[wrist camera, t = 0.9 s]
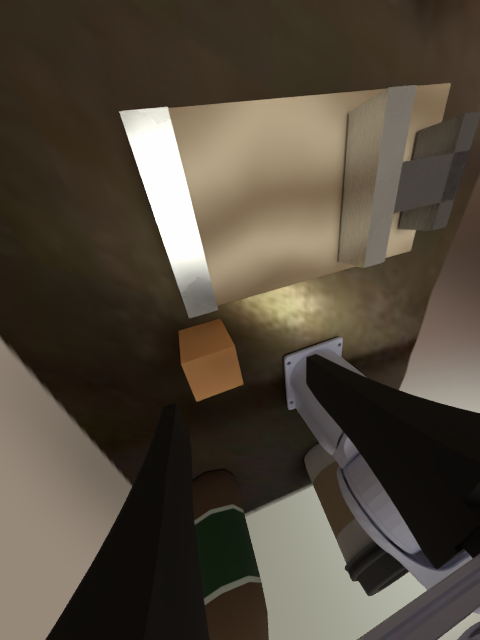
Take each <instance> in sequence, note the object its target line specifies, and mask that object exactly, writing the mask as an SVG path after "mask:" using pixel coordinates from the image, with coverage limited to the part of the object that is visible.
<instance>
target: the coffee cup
mask: <svg viewBox="0 0 480 640" xmlns="http://www.w3.org/2000/svg"><path fill="white" fill-rule="evenodd" d="M304 462H305V465H306V469H307V472H308V474H309V476H310V479H311V481H312V483H313V486H314V488H315V491H316V493H317V495H318V498H319V500H320V502H321V505H322V507H323V509H324V512H325V514H326V516H327V519H328V521H329V523H330V526H331V528H332V531H333V533H334V535H335V538H336V540H337V542H338V545H339V547H340V549H341V552H342V554H343V556H344V559H345V561H346V564H347V565H346V566H345V570H346V571H348V573H349V575H350V578H351V579H352V581H359V582H360V584H361V586H362V587H363V589H364V590H365V592H366V593H367V595H368V596H372V595H374V594H376V593H378V592H379V591H381V590H383V589H384V588H386V587H387V586H389V585H390V584H392V583H393V582H395V581H396V580H398V579H399V578H400V577H402V576H404V575H405V574H406V573H408V572H409V571H408V570H407V569H406V568H405V567H404V566H403V565H402V564H401V563H400V562H399V561H398V560H397V559H396V558H394V557H393V556H392V555H391V554H389V553H388V552H386V551H385V550H384V549H382V548H381V547H380V546H379V545H378V544H377V543H376V542H375V541H374V540H373V539H372V538H371V537H370V536H369V535H368V534H367V533H366V531H365V530H364V529H363V528H362V526H361V525H360V524H359V522H358V521H357V520H356V518H355V517H354V515H353V514H352V512H351V511H350V509H349V507H348V505H347V504H346V502H345V500H344V498H343V495H342V493H341V490H340V487H339V482H338V479H337V468H338V466H339V464H338V463H337V461H336V460H335V458H334V457H333V456H332V455H331V454H329V453H328V452H327V451H326V450H325V449H324V448H323V447H322V446H321V445H320V443H318V444H317V445H315V446H314V447H313V448H311V449H310V450H309V451H308V453H307V454H306V456H305V458H304Z"/></svg>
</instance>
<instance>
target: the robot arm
mask: <svg viewBox="0 0 480 640" xmlns="http://www.w3.org/2000/svg"><path fill="white" fill-rule="evenodd" d="M342 344H343V339H342V338H341V337H337V338H334V339H331V340H328V341H325V342H323V343H320V344H317V345H314V346H311V347H309V348H306V349H303V350H300V351H297V352H295V353H292V354H289V355H287V356H285V357H284V371H285V384H286V396H287V407H288V409H289V410H292V409H295V408H296V409H297V411H298V412H299V413H300V415H301V416H302V418H303V419H304V421H305V422H306V424H307V425H308V427H309V428H310V430H311V431H312V433H313V434H314V436H315V437H316V439H317V440H318V442H319V443H320V445H321V446H322V447H323V448H324V449H325V450H326V451H327V452H328V453H329V454H331V455H332V456H333V457H334V458H335V460H336V461H337V463H338V464H339V466H338V468H337V479H338V482H339V487H340V490H341V493H342V495H343V498H344V500H345V502H346V504H347V505H348V507H349V509H350V511H351V512H352V514H353V515H354V517H355V518H356V520H357V521H358V522H359V524H360V525H361V526H362V528H363V529H364V530H365V531H366V533H367V534H368V535H369V536H370V537H371V538H372V539H373V540H374V541H375V542H376V543H377V544H378V545H379V546H380V547H381V548H382V549H384V550H385V551H386V552H388V553H389V554H391V555H392V556H393V557H394V558H396V559H397V560H398V561H399V562H400V563H401V564H402V565H403V566H404V567H405V568H406V569H407V570H408V571H409V572H410V573H411V574H412V575H413V576H414V577H415V578H416V579H417V580H418V581H419V582H420V583H421V584H422V585H423V586H425V588H426V589H427V591H426V592H424V593H423V594H422V595H420V596H419V597H417V598H416V599H414V600H413V601H412V602H410V603H409V604H407V605H406V606H405V607H403V608H402V609H400V610H399V611H398V612H396V613H395V614H393V615H392V616H390V617H389V618H388V619H386V620H385V621H383V622H382V623H380V624H379V625H377V626H376V627H374V628H373V629H372V630H370V631H369V632H367V633H366V634H364V635H363V636H362V637H360V638H359V639H357V640H437V639H439V638H440V637H441V636H443V635H444V634H445V633H447V632H448V631H449V630H450V629H452V628H453V627H454V626H456V625H457V624H458V623H459V622H461V621H462V620H463V619H465V618H466V617H467V616H468V615H470V614H471V613H472V612H475V613H478V614H480V413H476V412H472V411H468V410H463V409H459V408H456V407H452V406H448V405H444V404H440V403H437V402H434V401H430V400H427V399H424V398H420V397H417V396H414V395H411V394H408V393H405V392H402V391H399V390H397V389H394V388H391V387H388V386H386V385H383V384H381V383H378V382H376V381H374V380H371V379H369V378H367V377H366V376H364V375H363V374H362V373H361V372H359V371H358V370H357V369H356V368H354V367H353V366H352V365H351V364H349V363H348V362H347V361H346V360H344V359H343V358H342V357H341V354H342ZM288 362H289V363H288ZM46 640H210V639H209V632H208V625H207V618H206V611H205V603H204V596H203V589H202V581H201V573H200V565H199V557H198V549H197V540H196V531H195V523H194V511H193V487H192V458H191V445H190V438H189V431H188V427H187V425H186V422H185V420H184V418H183V416H182V414H181V412H180V409H179V407H178V405H177V403H174V404H171V405H168V406H165V407H163V409H162V411H161V415H160V418H159V421H158V424H157V427H156V430H155V433H154V435H153V438H152V441H151V443H150V446H149V449H148V451H147V454H146V456H145V459H144V461H143V463H142V466H141V468H140V470H139V473H138V475H137V477H136V480H135V482H134V484H133V486H132V489H131V491H130V493H129V495H128V497H127V499H126V501H125V503H124V505H123V507H122V509H121V511H120V513H119V515H118V517H117V519H116V521H115V523H114V524H113V526H112V528H111V530H110V532H109V534H108V536H107V537H106V539H105V541H104V543H103V545H102V547H101V548H100V550H99V552H98V554H97V555H96V557H95V559H94V561H93V562H92V564H91V566H90V568H89V569H88V571H87V573H86V574H85V576H84V578H83V579H82V581H81V583H80V584H79V586H78V588H77V589H76V591H75V593H74V594H73V596H72V598H71V599H70V601H69V603H68V604H67V606H66V608H65V609H64V611H63V613H62V614H61V616H60V617H59V619H58V621H57V622H56V624H55V626H54V627H53V629H52V630H51V632H50V633H49V635H48V637H47V638H46ZM457 640H480V622H478V623H476V624H474V625H473V626H471V627H470V628H469V629H468V630H466V631H465V632H464V633H463V634H462V635H461V636H460V638H459V639H457Z"/></svg>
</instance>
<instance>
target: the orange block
mask: <svg viewBox="0 0 480 640" xmlns="http://www.w3.org/2000/svg"><path fill="white" fill-rule="evenodd" d="M179 344H180V358H181V365H182V368H183V370H184V373H185V375H186V377H187V380H188V382H189V385H190V387H191V390H192V392H193V394H194V397H195V399H196V402H197V401H200V400H203V399H205V398H208V397H211V396H213V395H216V394H219V393H222V392H224V391H227V390H230V389H232V388H235V387H238V386H240V385H243V380H242V375H241V371H240V367H239V362H238V358H237V353H236V349H235V345H234V343H233V342H232V340H231V338H230V336H229V334H228V332H227V330H226V328H225V326H224V324H223V322H222V320H221V318H220V319H216V320H213V321H210V322H206V323H203V324H200V325H196V326H193V327H190V328H186V329H183V330H180V331H179Z"/></svg>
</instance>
